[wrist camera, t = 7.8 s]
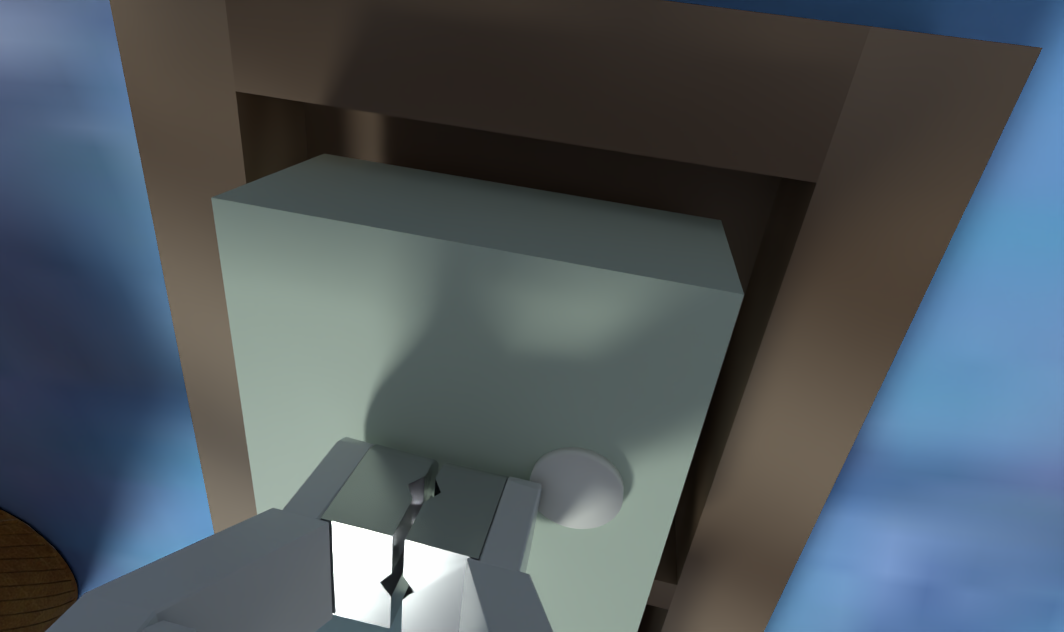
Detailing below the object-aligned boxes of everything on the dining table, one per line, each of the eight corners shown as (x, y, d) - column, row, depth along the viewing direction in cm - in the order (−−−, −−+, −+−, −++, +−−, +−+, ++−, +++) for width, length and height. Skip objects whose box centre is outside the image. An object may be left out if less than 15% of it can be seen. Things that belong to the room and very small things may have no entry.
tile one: (324, 153, 10) (200, 202, 8) (720, 220, 10) (746, 301, 7) (339, 454, 14) (256, 565, 11) (636, 522, 13) (630, 663, 10)
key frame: (226, -50, 11) (95, -72, 9) (939, 41, 10) (1042, 47, 7) (317, 774, 26) (278, 860, 23) (610, 862, 24) (604, 965, 22)
